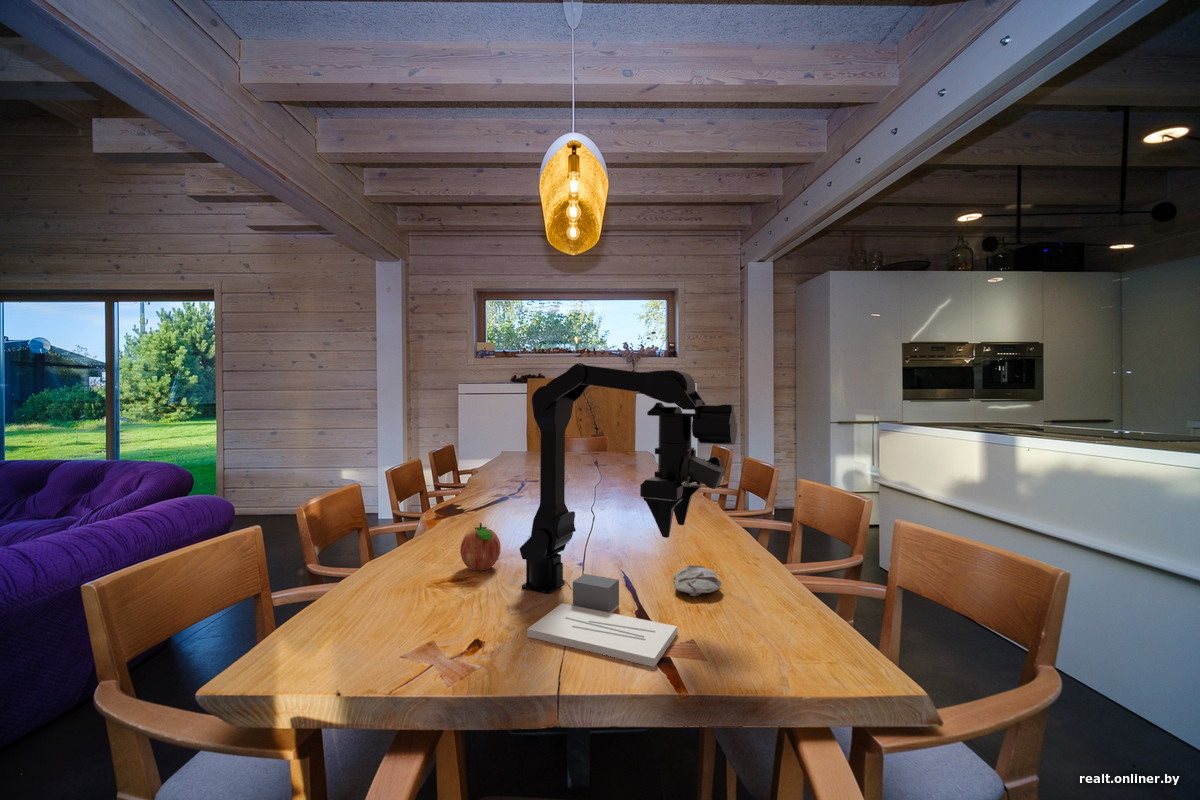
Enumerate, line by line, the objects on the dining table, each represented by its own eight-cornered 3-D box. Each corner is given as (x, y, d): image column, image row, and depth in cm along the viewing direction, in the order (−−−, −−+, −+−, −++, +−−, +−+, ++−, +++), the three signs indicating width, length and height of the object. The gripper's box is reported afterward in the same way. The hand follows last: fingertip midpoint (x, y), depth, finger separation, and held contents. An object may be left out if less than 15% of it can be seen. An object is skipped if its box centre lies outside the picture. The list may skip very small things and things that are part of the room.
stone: (725, 602, 94) (725, 584, 94) (676, 600, 94) (676, 583, 94) (714, 579, 106) (714, 563, 106) (670, 578, 106) (670, 562, 106)
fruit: (459, 577, 106) (459, 529, 106) (461, 563, 115) (461, 519, 115) (501, 574, 108) (501, 527, 108) (499, 560, 117) (499, 517, 117)
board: (527, 636, 79) (527, 628, 79) (561, 610, 89) (561, 603, 89) (654, 667, 70) (654, 658, 70) (677, 633, 80) (677, 626, 80)
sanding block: (572, 609, 90) (572, 581, 90) (584, 600, 94) (584, 573, 94) (608, 617, 87) (608, 588, 87) (618, 607, 91) (619, 579, 91)
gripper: (708, 449, 77) (707, 551, 77) (731, 440, 94) (730, 524, 94) (639, 445, 82) (638, 542, 82) (673, 437, 99) (672, 517, 99)
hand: (673, 530), depth 89 cm, fingers open, 9 cm apart
